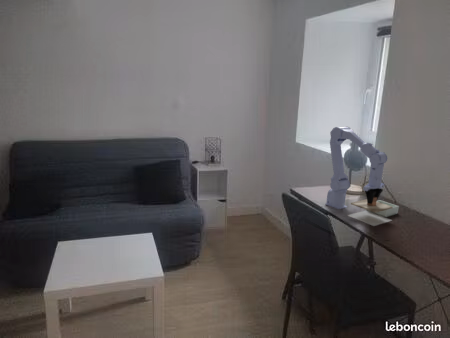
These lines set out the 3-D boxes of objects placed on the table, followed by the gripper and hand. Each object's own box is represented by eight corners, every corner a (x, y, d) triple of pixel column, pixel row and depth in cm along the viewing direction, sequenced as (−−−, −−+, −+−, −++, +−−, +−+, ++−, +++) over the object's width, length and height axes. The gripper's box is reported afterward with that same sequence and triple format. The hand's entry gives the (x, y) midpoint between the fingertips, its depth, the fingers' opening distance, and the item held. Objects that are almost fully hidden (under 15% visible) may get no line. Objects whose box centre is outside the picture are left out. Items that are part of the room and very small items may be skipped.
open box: (366, 210, 186) (367, 203, 185) (378, 207, 192) (379, 200, 191) (385, 217, 177) (386, 209, 176) (397, 214, 183) (398, 206, 182)
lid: (350, 204, 176) (351, 195, 175) (367, 200, 184) (368, 191, 182) (375, 212, 165) (376, 203, 164) (392, 208, 172) (393, 199, 171)
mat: (346, 215, 178) (346, 215, 178) (365, 210, 186) (365, 210, 186) (373, 226, 165) (373, 226, 165) (392, 220, 174) (392, 220, 174)
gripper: (374, 180, 163) (369, 207, 167) (391, 176, 171) (387, 202, 174) (361, 176, 169) (357, 202, 172) (378, 173, 177) (374, 198, 180)
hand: (371, 202), depth 174 cm, fingers closed on lid, 3 cm apart
